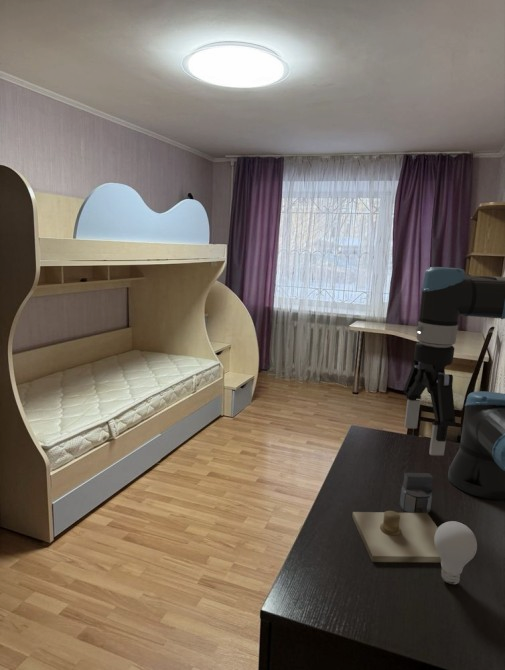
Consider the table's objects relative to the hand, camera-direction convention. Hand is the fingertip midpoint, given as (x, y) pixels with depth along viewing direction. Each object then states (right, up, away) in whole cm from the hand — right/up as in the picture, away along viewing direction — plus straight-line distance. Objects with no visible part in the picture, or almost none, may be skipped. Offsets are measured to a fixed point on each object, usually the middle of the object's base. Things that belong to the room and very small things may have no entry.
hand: (422, 440), depth 100 cm
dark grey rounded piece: (-1, -15, +3) cm, 16 cm away
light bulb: (-2, -20, -20) cm, 28 cm away
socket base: (-7, -17, -8) cm, 20 cm away
